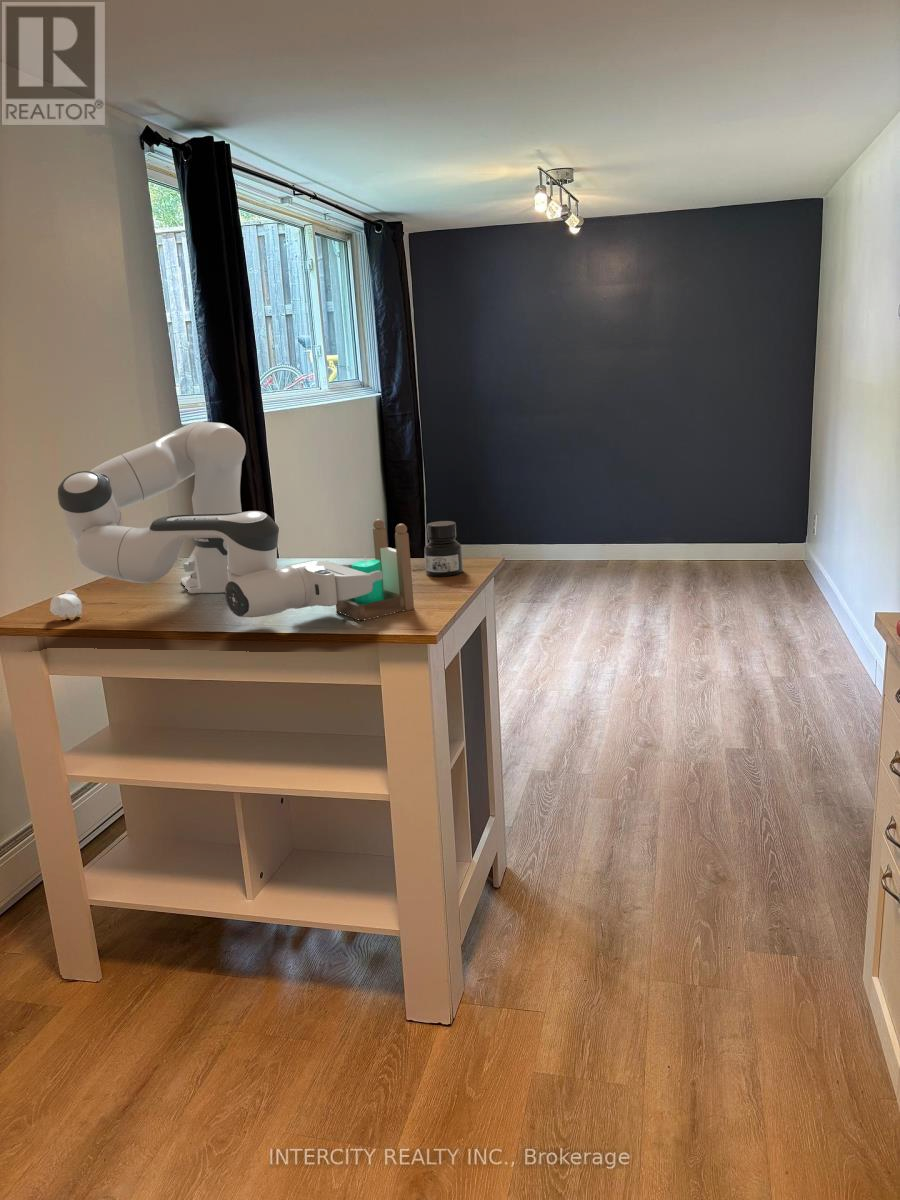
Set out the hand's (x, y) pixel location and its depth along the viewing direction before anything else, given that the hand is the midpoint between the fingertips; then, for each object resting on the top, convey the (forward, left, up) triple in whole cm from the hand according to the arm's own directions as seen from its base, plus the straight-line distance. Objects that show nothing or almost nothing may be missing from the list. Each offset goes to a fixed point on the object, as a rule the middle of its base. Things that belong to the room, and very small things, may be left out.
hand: (369, 571), depth 194 cm
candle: (0, -1, -9) cm, 9 cm away
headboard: (0, +6, -9) cm, 10 cm away
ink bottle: (-16, +30, -9) cm, 35 cm away
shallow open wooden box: (0, 0, -9) cm, 9 cm away
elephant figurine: (-45, -50, -9) cm, 69 cm away
